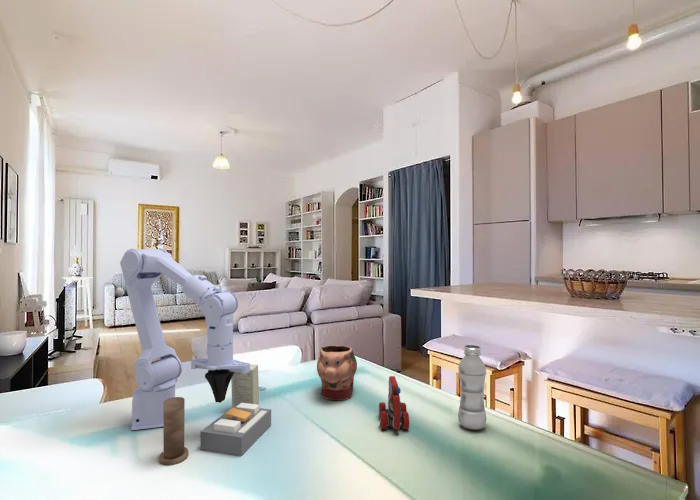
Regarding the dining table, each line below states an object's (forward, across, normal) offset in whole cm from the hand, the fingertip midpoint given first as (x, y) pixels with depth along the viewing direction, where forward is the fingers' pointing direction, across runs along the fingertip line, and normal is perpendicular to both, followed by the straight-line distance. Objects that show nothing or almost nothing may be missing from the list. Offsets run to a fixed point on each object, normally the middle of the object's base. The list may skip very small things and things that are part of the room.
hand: (220, 400), depth 88 cm
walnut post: (+8, -4, -11) cm, 14 cm away
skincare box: (+8, -1, +12) cm, 15 cm away
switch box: (+8, +5, 0) cm, 9 cm away
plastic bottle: (+8, +58, +19) cm, 62 cm away
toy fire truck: (+8, +39, +16) cm, 43 cm away
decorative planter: (+8, +20, +31) cm, 38 cm away
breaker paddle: (+3, +5, 0) cm, 6 cm away
